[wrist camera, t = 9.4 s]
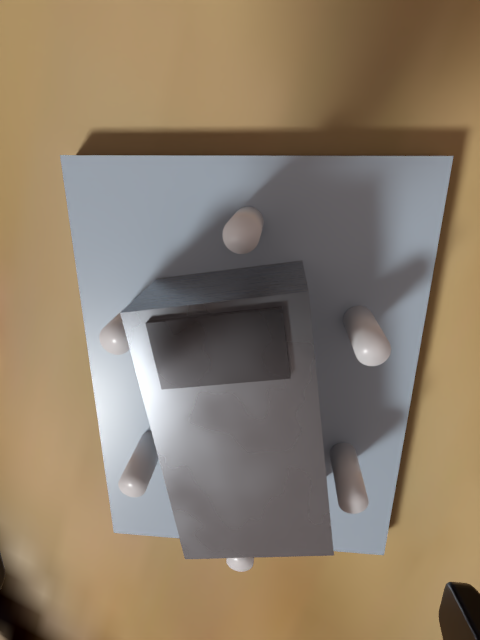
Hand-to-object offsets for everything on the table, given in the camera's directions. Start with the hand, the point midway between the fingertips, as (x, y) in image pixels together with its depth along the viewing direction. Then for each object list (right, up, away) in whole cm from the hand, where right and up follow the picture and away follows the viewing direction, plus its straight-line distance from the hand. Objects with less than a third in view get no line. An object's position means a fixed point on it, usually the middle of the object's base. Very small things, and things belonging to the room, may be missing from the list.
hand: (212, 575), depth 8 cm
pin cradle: (+1, +3, +8) cm, 9 cm away
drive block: (+1, +3, +7) cm, 8 cm away
